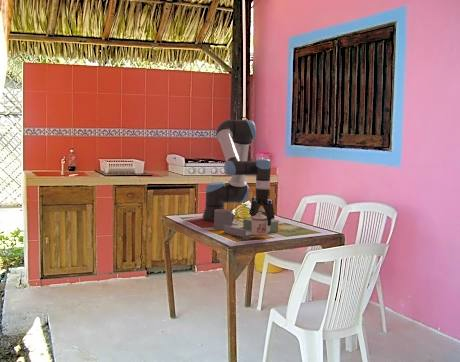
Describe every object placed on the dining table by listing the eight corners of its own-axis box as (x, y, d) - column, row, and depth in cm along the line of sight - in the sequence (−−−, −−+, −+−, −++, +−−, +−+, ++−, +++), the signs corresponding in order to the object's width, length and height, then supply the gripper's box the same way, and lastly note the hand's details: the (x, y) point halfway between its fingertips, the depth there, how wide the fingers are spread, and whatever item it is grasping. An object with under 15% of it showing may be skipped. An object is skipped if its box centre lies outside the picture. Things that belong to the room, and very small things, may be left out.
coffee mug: (219, 229, 315) (219, 212, 314) (210, 226, 323) (211, 209, 322) (239, 227, 322) (239, 210, 321) (230, 225, 330) (231, 208, 329)
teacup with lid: (257, 236, 289) (257, 214, 287) (247, 233, 296) (248, 211, 295) (275, 234, 295) (276, 212, 294) (265, 231, 303) (266, 210, 301)
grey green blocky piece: (223, 232, 307) (224, 212, 306) (257, 227, 325) (258, 208, 324) (244, 237, 295) (244, 217, 294) (277, 231, 314) (278, 212, 313)
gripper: (243, 186, 298) (242, 227, 301) (273, 191, 283) (271, 234, 285) (253, 185, 304) (251, 225, 306) (282, 190, 288) (281, 232, 290)
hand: (261, 229), depth 296 cm, fingers closed on teacup with lid, 9 cm apart
